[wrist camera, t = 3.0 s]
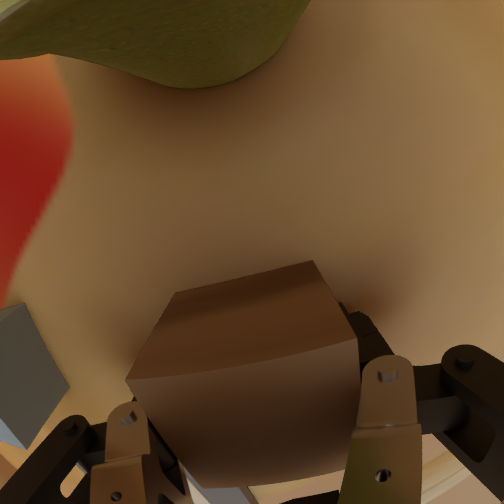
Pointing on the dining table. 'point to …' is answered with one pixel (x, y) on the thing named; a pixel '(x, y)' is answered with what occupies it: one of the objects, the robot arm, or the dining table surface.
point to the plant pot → (152, 35)
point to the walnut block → (253, 379)
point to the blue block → (25, 378)
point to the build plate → (215, 493)
